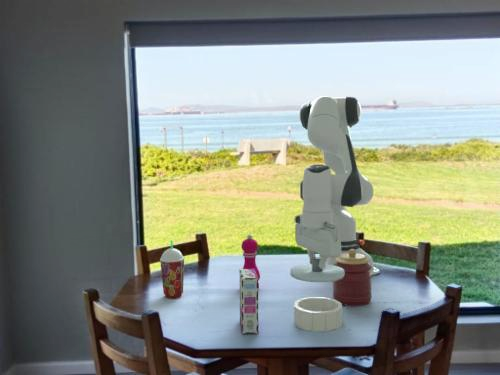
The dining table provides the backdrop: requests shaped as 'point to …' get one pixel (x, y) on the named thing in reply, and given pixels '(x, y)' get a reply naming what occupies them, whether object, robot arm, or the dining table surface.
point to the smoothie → (172, 272)
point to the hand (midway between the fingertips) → (317, 266)
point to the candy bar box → (248, 301)
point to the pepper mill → (250, 254)
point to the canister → (353, 279)
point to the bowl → (317, 313)
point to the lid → (317, 272)
